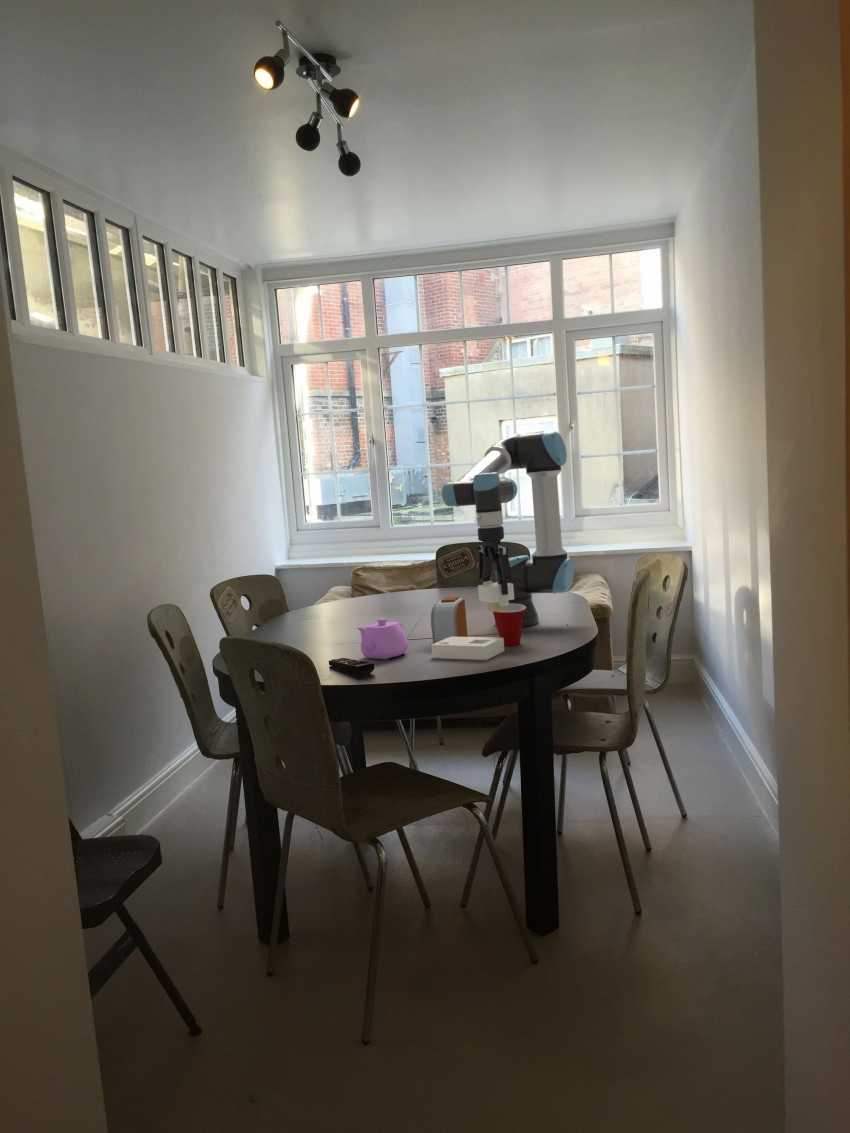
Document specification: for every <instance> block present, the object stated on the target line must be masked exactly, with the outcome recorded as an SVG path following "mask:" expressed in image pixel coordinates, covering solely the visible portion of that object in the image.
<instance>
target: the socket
mask: <svg viewBox="0 0 850 1133" xmlns="http://www.w3.org/2000/svg"><path fill="white" fill-rule="evenodd" d="M430 647H431V658H432V659H449V660H450V659H452V660H472V661H473V660H476V661H477V660H479V661H480V660H481V661H487V660H489V659H491V658H494V657H495V656H497V655H499V654H501V653H503V652H505V646H504V639H503V638H500V637H492V636H491V637H490V636H489V637H484V636H483V637H481V636H480V637H479V636H468V637H449V638H446V639H444V640H442V641H439V642H437V643H434V644H433V643H431V645H430Z"/></svg>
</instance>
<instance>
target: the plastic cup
mask: <svg viewBox="0 0 850 1133" xmlns="http://www.w3.org/2000/svg"><path fill="white" fill-rule="evenodd" d="M525 609H526V606H524V605H521V604H509V605H508V606H507V610H503V611H497V612H493V611H491V612H492V615H493V618H494V623H495V622H496V626H495V627H496V629H497V634H498V638H503V639H504V647H512V646H518V645H520V644H521V641H522V639H521V638H522V632H523V630H522V629H523V627H522V621H523V614H524V611H525Z"/></svg>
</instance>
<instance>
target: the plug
mask: <svg viewBox="0 0 850 1133" xmlns="http://www.w3.org/2000/svg"><path fill="white" fill-rule="evenodd" d="M497 583H498V582H496V581H495V582H493V583H490V584H484V585H483V584H480V585H479V584H478V585H477V592H478V593H477V594H478V601H479V602H484V603H485V602H487V603H488V604H487V611H489V612H492V611H493V612H497V611H503V610H507V606H502V607H500V605H499V592H498V584H497ZM507 585H508V599H509V600H513V599H514V588H513V584H511V583H508V584H507ZM493 612H492V613H493Z"/></svg>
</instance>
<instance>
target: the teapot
mask: <svg viewBox="0 0 850 1133" xmlns="http://www.w3.org/2000/svg"><path fill="white" fill-rule="evenodd" d="M387 620H388V618H385V617H384V618H382V617H381V618H378V619H377V622H375V623H371V624H369V625H368V624H367V625H366V626H365V628H364V627H357V629H358V631H359V632H360V635H361V642H360V652H361V653H362V655H363V657H365V658H368V659H370V658H372V659H373V658H374V659H382V660H386V661H387V660H390V659H391V658H394V657H398V656H402V655H403V654H405V653H406V651H407V650H408V647H409V642H408V637H407V635H406V633H405V631H404V629H403V626H402V625H403V624H402V623H401V622H399V621H387Z"/></svg>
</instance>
